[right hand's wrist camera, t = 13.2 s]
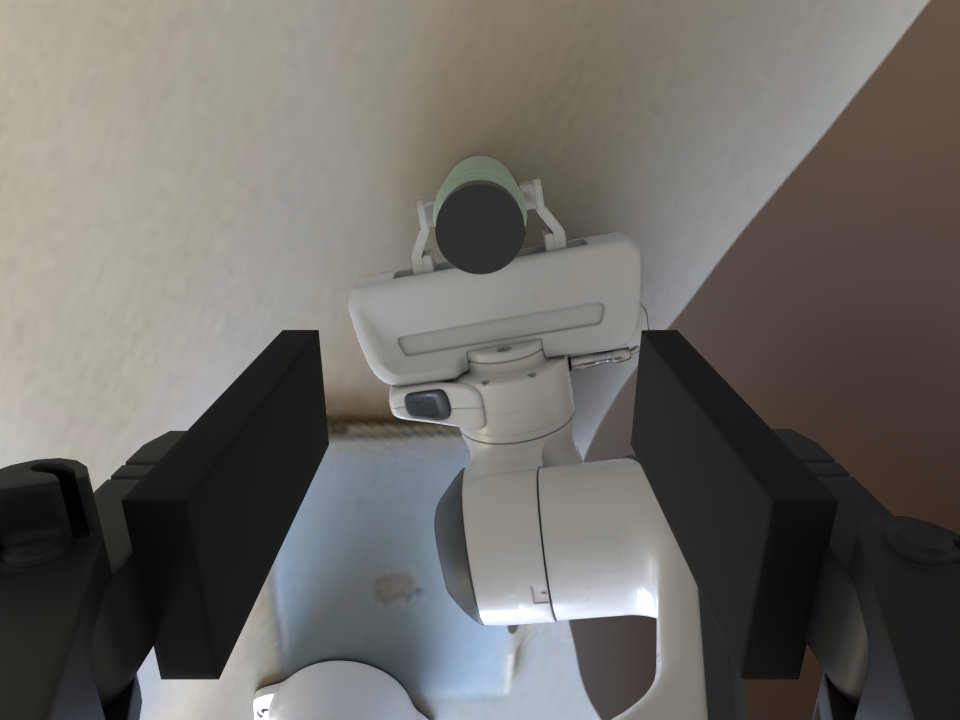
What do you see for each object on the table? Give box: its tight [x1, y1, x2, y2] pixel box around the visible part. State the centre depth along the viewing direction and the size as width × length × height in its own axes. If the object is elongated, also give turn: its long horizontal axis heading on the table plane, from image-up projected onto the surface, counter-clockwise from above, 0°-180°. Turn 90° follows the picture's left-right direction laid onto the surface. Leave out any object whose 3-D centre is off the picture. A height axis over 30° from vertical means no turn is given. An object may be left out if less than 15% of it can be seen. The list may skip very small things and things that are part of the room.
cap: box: [435, 180, 525, 275], centre depth 34 cm, size 4×4×2 cm
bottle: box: [433, 156, 527, 226], centre depth 41 cm, size 6×6×17 cm
